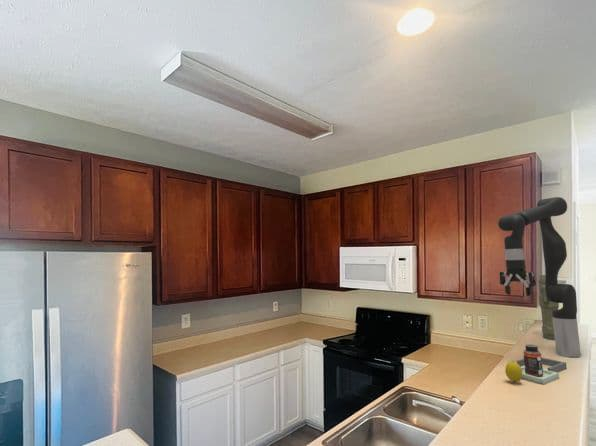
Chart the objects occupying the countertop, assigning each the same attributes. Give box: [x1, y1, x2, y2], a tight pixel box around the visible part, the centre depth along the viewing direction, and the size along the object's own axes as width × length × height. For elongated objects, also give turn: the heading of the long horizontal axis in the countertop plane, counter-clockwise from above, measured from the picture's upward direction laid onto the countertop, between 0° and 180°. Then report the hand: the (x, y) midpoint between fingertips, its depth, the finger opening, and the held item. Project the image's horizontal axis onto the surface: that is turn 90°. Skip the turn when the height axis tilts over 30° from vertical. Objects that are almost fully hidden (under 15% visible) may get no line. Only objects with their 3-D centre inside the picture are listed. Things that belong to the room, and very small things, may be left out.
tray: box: [521, 365, 560, 386], centre depth 135 cm, size 12×12×2 cm
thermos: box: [538, 274, 560, 341], centre depth 194 cm, size 9×12×35 cm
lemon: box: [504, 360, 523, 384], centre depth 131 cm, size 6×6×8 cm
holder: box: [516, 357, 567, 373], centre depth 146 cm, size 13×13×2 cm
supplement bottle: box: [523, 344, 544, 377], centre depth 136 cm, size 6×6×11 cm
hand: (518, 295), depth 153 cm, fingers open, 8 cm apart
